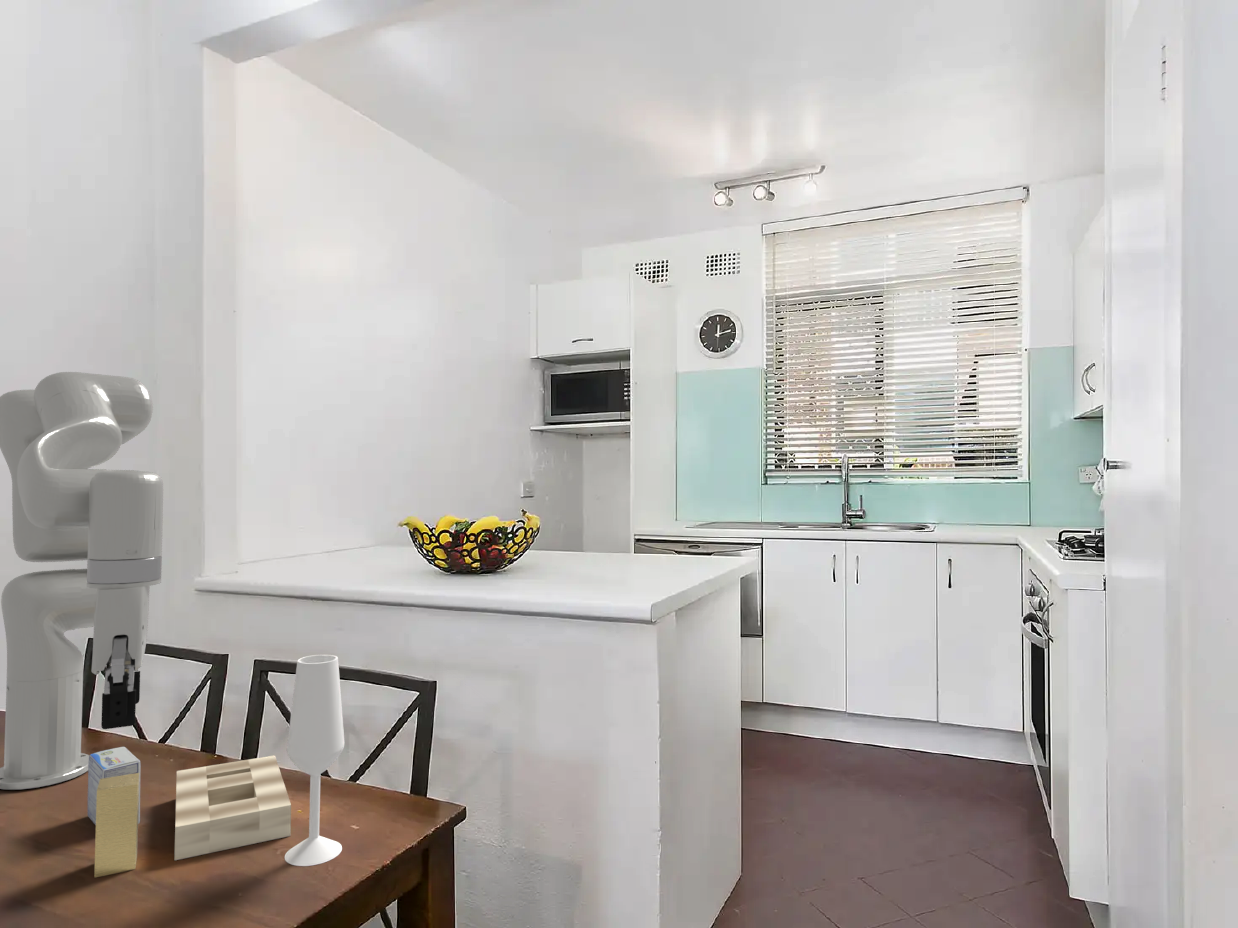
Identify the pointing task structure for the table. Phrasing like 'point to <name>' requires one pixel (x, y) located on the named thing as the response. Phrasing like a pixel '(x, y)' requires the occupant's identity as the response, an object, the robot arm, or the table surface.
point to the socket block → (230, 806)
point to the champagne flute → (315, 745)
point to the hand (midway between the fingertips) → (121, 715)
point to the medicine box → (109, 772)
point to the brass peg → (116, 824)
